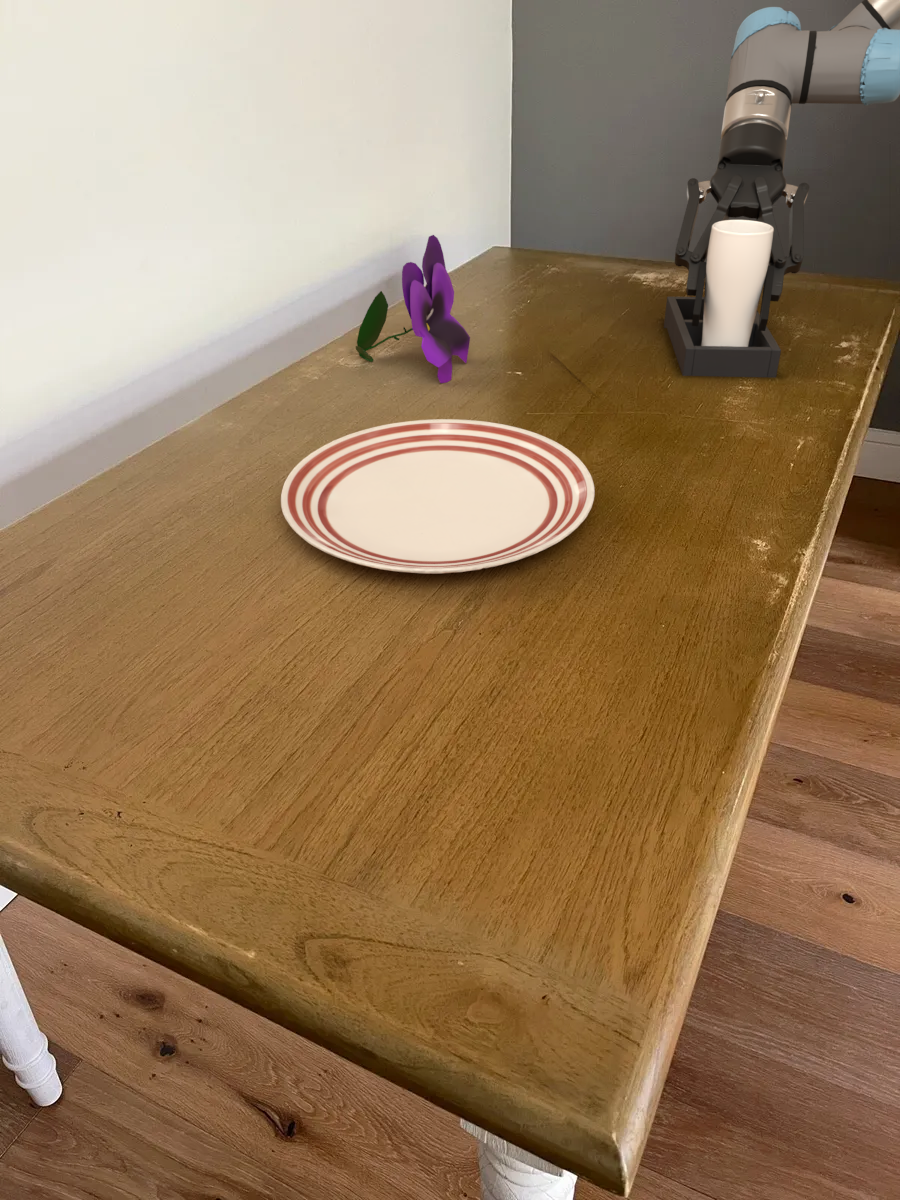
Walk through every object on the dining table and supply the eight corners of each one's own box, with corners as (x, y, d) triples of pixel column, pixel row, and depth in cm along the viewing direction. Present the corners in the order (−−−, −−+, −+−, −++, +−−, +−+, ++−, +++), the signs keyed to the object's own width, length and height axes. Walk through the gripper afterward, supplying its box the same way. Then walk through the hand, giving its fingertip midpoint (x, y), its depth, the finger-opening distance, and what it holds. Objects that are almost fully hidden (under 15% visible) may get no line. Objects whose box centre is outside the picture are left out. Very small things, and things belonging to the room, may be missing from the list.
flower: (362, 425, 115) (456, 385, 108) (299, 309, 109) (393, 260, 102) (406, 382, 126) (493, 344, 119) (350, 275, 121) (438, 229, 114)
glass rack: (743, 332, 126) (749, 297, 124) (773, 389, 110) (781, 350, 107) (663, 331, 127) (667, 296, 124) (681, 387, 110) (686, 348, 108)
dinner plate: (544, 627, 71) (546, 589, 69) (224, 563, 79) (218, 528, 77) (621, 471, 92) (624, 439, 91) (363, 433, 100) (361, 403, 99)
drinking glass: (688, 364, 112) (706, 230, 104) (698, 346, 117) (716, 217, 109) (747, 371, 110) (771, 235, 101) (755, 352, 115) (778, 221, 107)
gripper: (669, 116, 110) (641, 300, 106) (848, 121, 106) (827, 312, 102) (666, 158, 117) (640, 332, 113) (835, 164, 113) (814, 344, 109)
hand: (729, 322), depth 108 cm, fingers closed on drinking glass, 7 cm apart
